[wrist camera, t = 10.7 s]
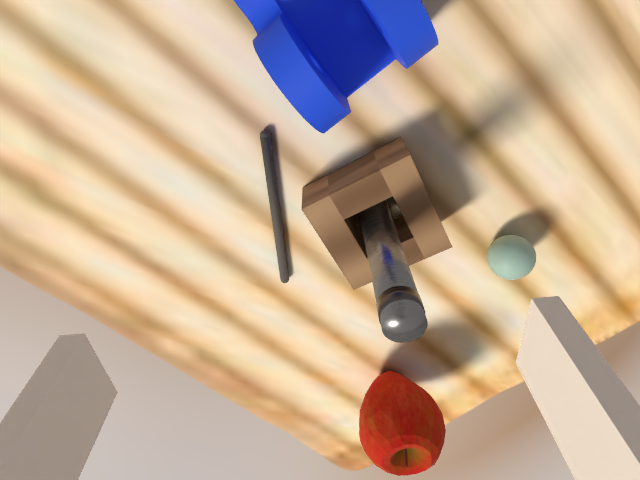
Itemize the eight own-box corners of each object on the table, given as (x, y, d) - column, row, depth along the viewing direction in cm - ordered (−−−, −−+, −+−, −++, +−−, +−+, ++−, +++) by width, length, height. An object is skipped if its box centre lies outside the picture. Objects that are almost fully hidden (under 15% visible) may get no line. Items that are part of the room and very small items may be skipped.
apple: (440, 357, 47) (471, 449, 38) (410, 405, 51) (432, 498, 42) (368, 342, 45) (382, 434, 36) (343, 392, 50) (350, 486, 40)
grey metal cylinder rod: (356, 193, 36) (381, 309, 23) (388, 191, 36) (430, 306, 23) (357, 220, 38) (380, 344, 25) (387, 218, 38) (426, 341, 25)
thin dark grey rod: (259, 129, 33) (258, 132, 32) (270, 128, 33) (269, 131, 32) (281, 279, 41) (280, 284, 40) (289, 279, 41) (289, 284, 40)
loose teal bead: (483, 228, 38) (500, 252, 35) (527, 225, 38) (549, 249, 35) (477, 264, 40) (493, 290, 37) (519, 261, 40) (539, 287, 37)
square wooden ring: (302, 187, 36) (301, 209, 32) (400, 137, 34) (410, 154, 30) (350, 263, 40) (353, 289, 37) (439, 222, 38) (452, 246, 34)
